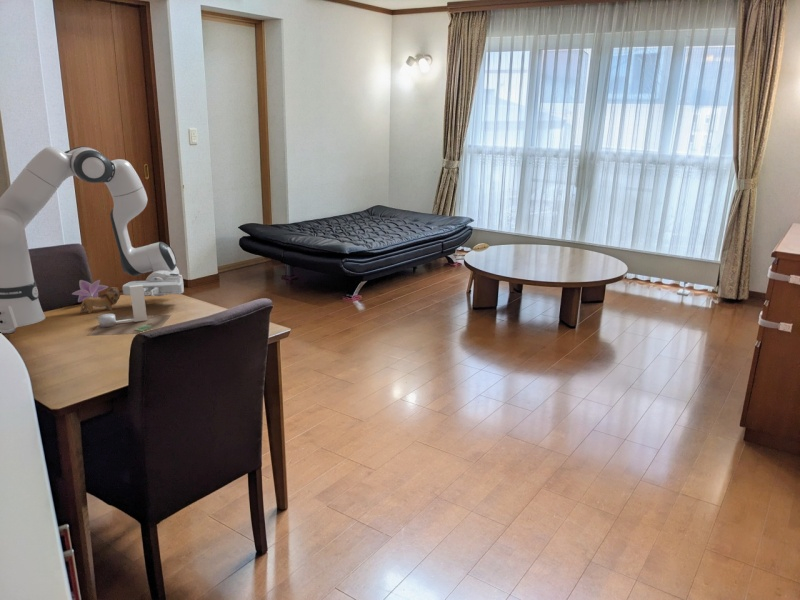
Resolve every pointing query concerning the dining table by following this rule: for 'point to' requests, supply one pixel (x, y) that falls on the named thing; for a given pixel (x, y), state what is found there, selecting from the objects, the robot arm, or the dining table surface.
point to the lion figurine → (101, 300)
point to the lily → (89, 289)
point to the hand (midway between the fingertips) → (147, 293)
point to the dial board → (131, 325)
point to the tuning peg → (137, 306)
